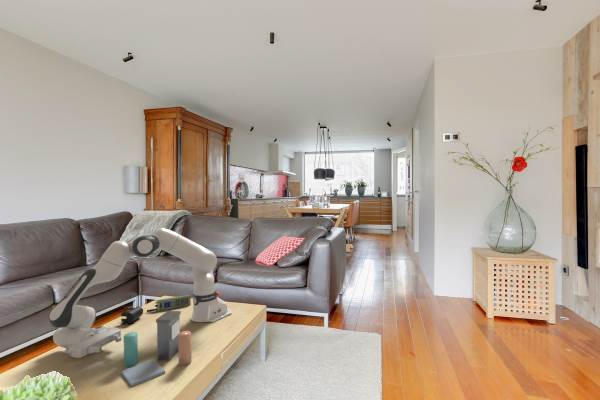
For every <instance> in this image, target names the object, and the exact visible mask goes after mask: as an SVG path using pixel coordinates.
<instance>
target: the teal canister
mask: <svg viewBox="0 0 600 400" xmlns="http://www.w3.org/2000/svg"><path fill="white" fill-rule="evenodd" d="M138 339H139V338H138V332H136V331H132V332H128V333H125V334H124V335H123V366H124V367H125V368H131V367H134V366H137V365H139V348H138V347H139V340H138Z"/></svg>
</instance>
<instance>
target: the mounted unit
mask: <svg viewBox="0 0 600 400" xmlns="http://www.w3.org/2000/svg"><path fill="white" fill-rule="evenodd" d="M181 314H182V313H181V310H166V311H165V312H164V313H163V314H162V315H160V316H159V317H158V318H156V320H155V323H156V327H157V329H156V330H157V331H156V333H157V335H156V336H157V337H156V339H157V341H156V342H157V343H156V344H157V361H158V362H160V361H161V362H164V361H165V362H170V361H171V360H172V358H174V357H175V355H176V354H177V353H178V334H179V333H180V332H181V329H180V327H181V323H180V322H181V321H180V318H181V317H180V316H181Z"/></svg>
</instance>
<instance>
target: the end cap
mask: <svg viewBox="0 0 600 400" xmlns="http://www.w3.org/2000/svg"><path fill="white" fill-rule="evenodd" d="M143 314H144V309H143V307H141V306H140V305H137V306H136V307H129V308H128V309H127V310H124V311H122V312H121V314H120V316H121V318H120V320H121V321H120V322H121V325H130V324H132V323H133V322H135V321H136V320H138V319H139V318H141V317H142V316H143ZM123 317H125V318H123Z"/></svg>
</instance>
